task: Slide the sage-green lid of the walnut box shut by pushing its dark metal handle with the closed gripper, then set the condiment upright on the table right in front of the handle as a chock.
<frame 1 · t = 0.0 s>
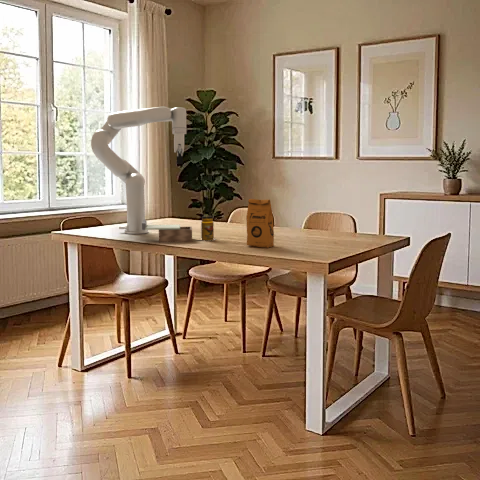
hand: (179, 163, 334), 37 cm above the table, tool pointing down, fingers open, 9 cm apart
condiment: (206, 240, 310), on the table
box: (175, 240, 308), on the table
lid: (161, 224, 307), point 8 cm above the table, slide at 6.0 cm
coffee package: (260, 247, 289), on the table
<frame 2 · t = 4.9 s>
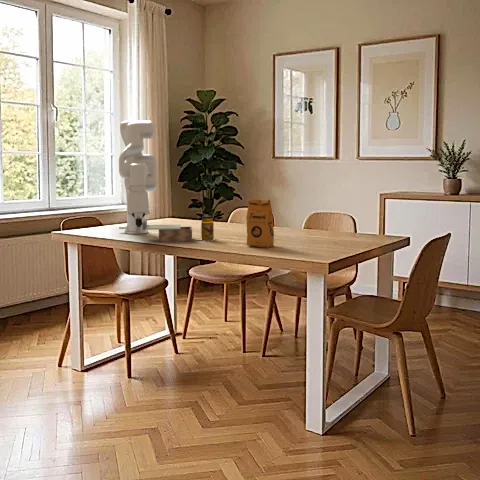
hand: (138, 226, 306), 7 cm above the table, tool pointing down, fingers closed
lid: (161, 224, 307), point 8 cm above the table, slide at 5.8 cm, touching gripper
everything else where it was.
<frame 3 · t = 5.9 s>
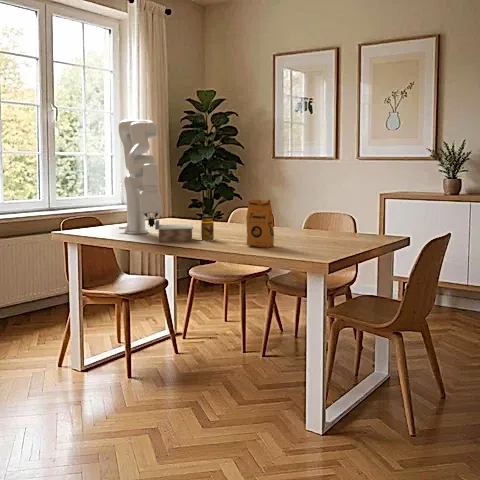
hand: (151, 226, 306), 7 cm above the table, tool pointing down, fingers closed
lid: (174, 224, 307), point 8 cm above the table, slide at -0.3 cm, touching gripper
everything else where it was.
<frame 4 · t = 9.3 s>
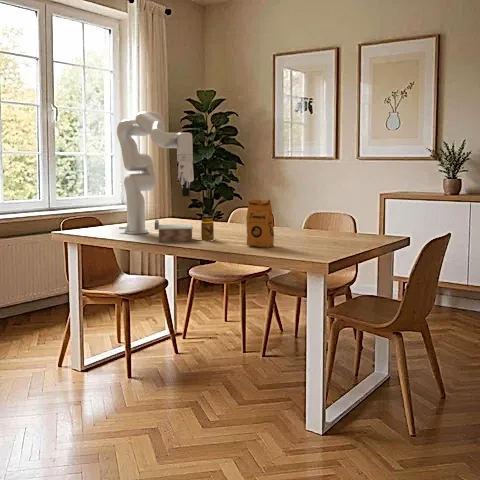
hand: (186, 196, 305), 22 cm above the table, tool pointing down, fingers closed
lid: (173, 224, 307), point 8 cm above the table, slide at 0.0 cm
everything else where it was.
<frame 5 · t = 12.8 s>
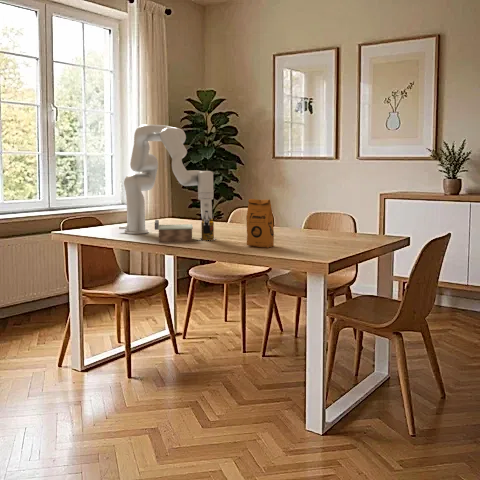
hand: (206, 232, 309), 4 cm above the table, tool pointing down, fingers closed on condiment, 6 cm apart
condiment: (206, 240, 310), on the table, touching gripper
everything else where it was.
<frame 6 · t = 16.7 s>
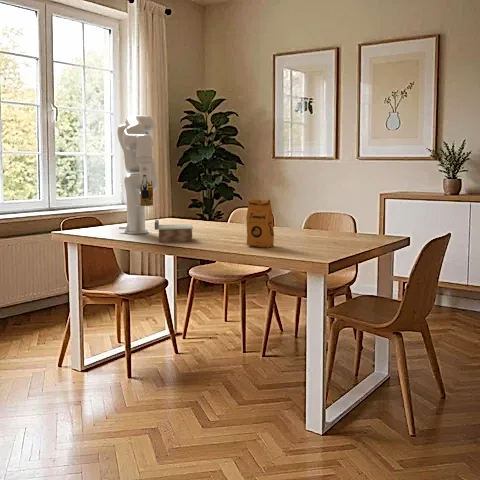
hand: (145, 197, 304), 21 cm above the table, tool pointing down, fingers closed on condiment, 6 cm apart
condiment: (145, 205, 305), point 17 cm above the table, touching gripper
everything else where it was.
when the fingers open (5 cm above the table, at t = 20.6 s): condiment stays where it is, on the table.
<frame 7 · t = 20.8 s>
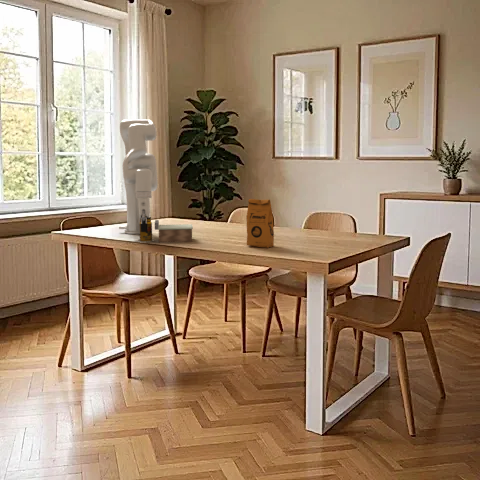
hand: (144, 230, 306), 5 cm above the table, tool pointing down, fingers open, 8 cm apart
condiment: (144, 241, 308), on the table
everything else where it was.
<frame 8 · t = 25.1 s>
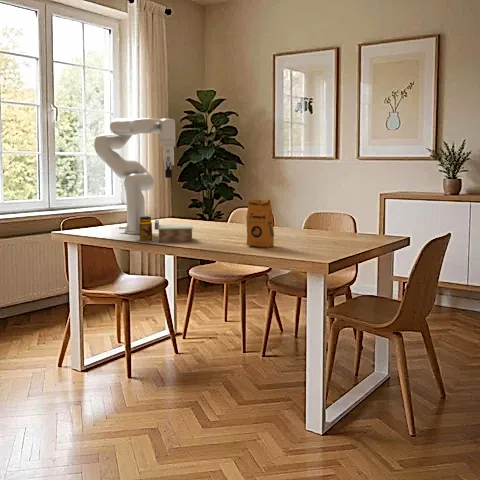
hand: (168, 177, 320), 30 cm above the table, tool pointing down, fingers open, 9 cm apart
nothing on the table moved.
at the end: lid slide at 0.0 cm; condiment inside the target area (0.6 cm from its centre), on the table; condiment tilted 0° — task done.
